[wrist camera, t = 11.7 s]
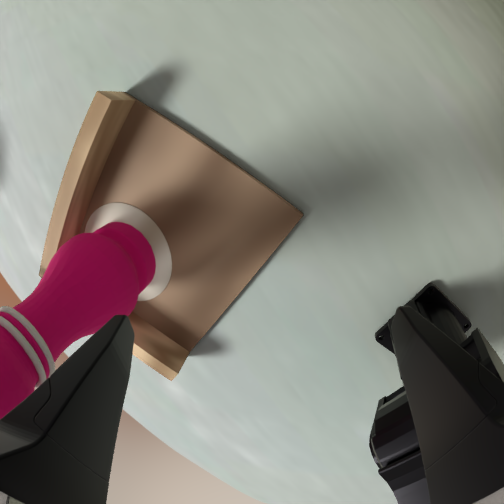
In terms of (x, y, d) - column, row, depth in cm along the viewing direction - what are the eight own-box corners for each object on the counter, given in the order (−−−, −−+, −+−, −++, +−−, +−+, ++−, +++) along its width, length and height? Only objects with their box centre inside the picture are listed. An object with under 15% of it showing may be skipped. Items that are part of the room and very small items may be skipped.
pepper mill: (79, 233, 25) (-98, 365, 7) (134, 201, 23) (-98, 362, 5) (118, 301, 27) (-23, 461, 9) (177, 281, 25) (17, 495, 7)
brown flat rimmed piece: (303, 213, 21) (300, 231, 18) (185, 356, 29) (171, 381, 26) (125, 92, 20) (96, 91, 17) (61, 259, 28) (38, 275, 25)
